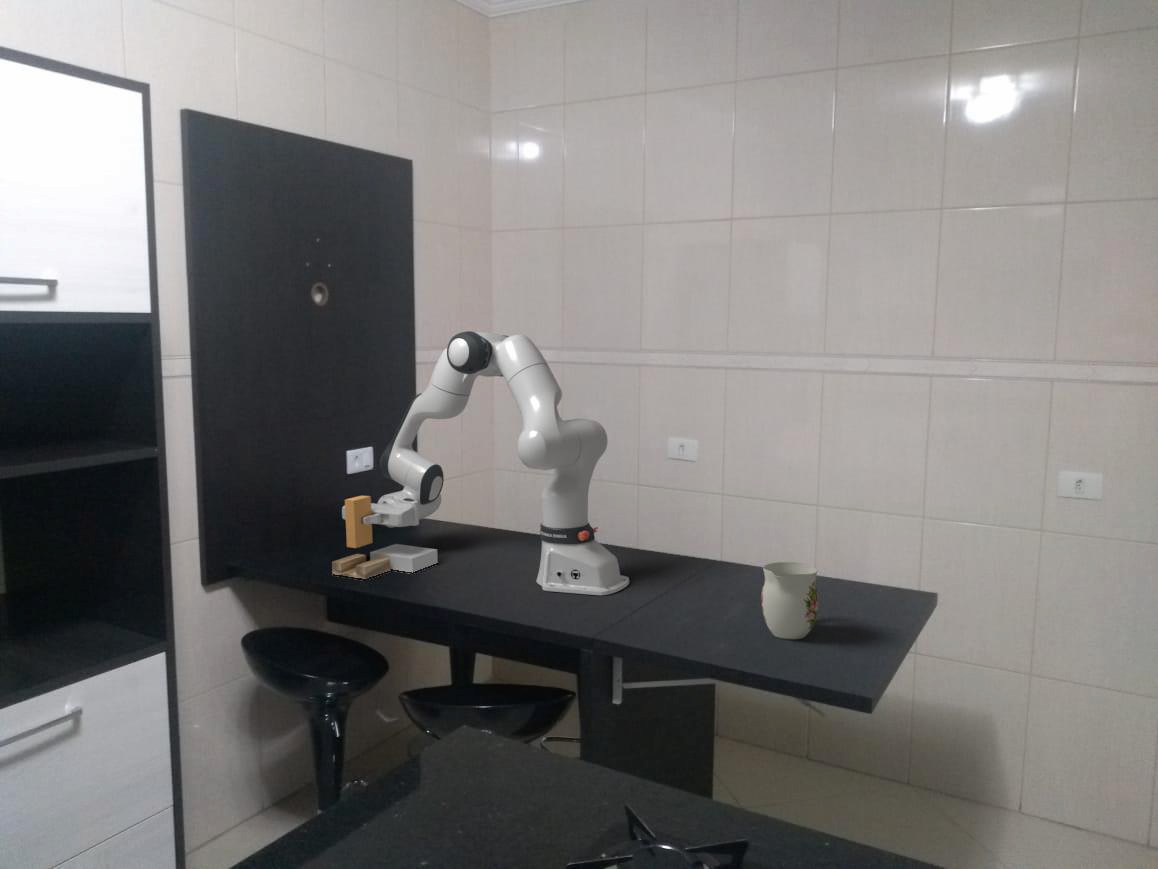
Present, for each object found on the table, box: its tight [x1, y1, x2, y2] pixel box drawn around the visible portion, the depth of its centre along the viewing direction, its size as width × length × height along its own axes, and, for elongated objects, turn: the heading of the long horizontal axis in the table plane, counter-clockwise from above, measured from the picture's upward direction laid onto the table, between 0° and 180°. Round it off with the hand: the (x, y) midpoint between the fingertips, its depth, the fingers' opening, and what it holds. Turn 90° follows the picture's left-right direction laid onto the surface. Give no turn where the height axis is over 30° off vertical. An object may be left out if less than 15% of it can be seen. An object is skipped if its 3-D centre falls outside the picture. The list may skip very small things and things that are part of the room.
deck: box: [369, 543, 439, 573], centre depth 228 cm, size 14×10×4 cm
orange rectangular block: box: [344, 495, 373, 549], centre depth 220 cm, size 3×6×12 cm, turn 151°
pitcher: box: [760, 561, 820, 640], centre depth 173 cm, size 11×18×14 cm, turn 152°
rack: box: [331, 553, 391, 579], centre depth 221 cm, size 11×9×4 cm
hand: (356, 520), depth 219 cm, fingers closed on orange rectangular block, 3 cm apart
